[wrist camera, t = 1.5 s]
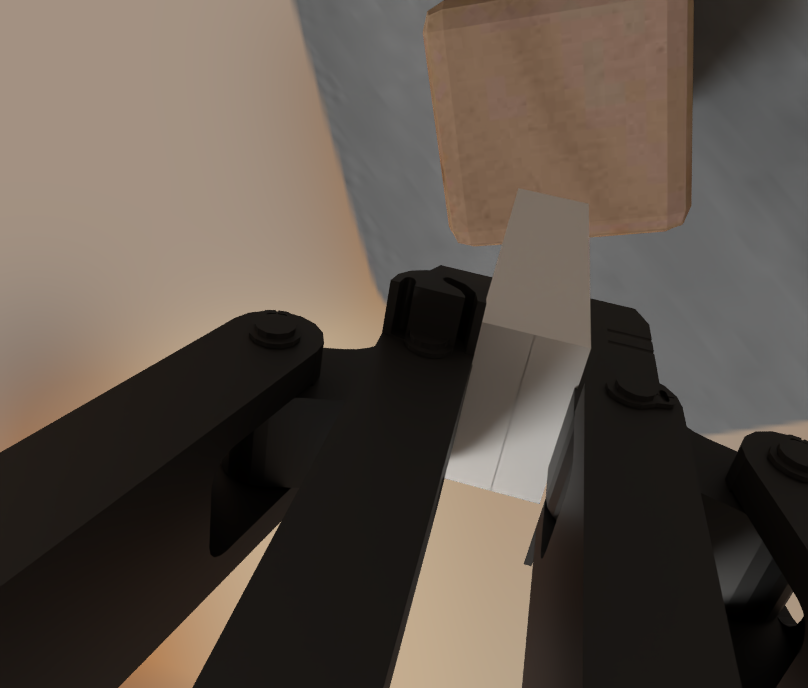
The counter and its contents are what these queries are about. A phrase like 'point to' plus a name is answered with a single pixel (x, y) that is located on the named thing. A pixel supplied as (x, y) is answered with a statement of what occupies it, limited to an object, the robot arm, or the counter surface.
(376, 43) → the counter surface
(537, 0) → the wooden block
